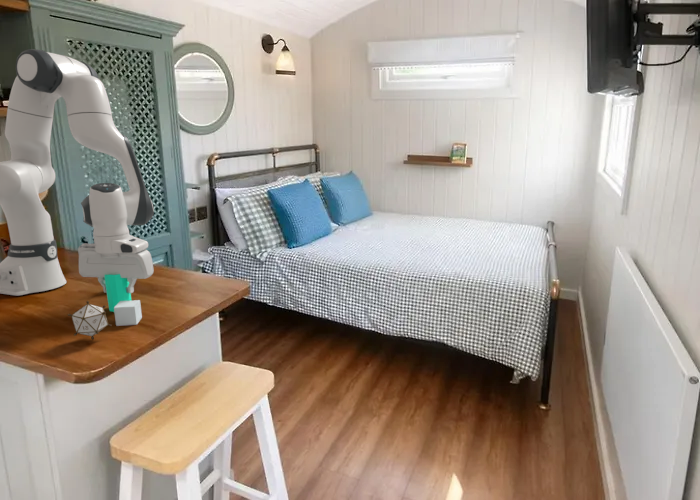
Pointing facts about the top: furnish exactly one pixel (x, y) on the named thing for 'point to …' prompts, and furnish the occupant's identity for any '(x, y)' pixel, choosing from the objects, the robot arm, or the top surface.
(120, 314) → the grey block
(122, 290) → the candle
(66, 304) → the top surface
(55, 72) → the robot arm
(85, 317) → the game die
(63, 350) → the top surface
